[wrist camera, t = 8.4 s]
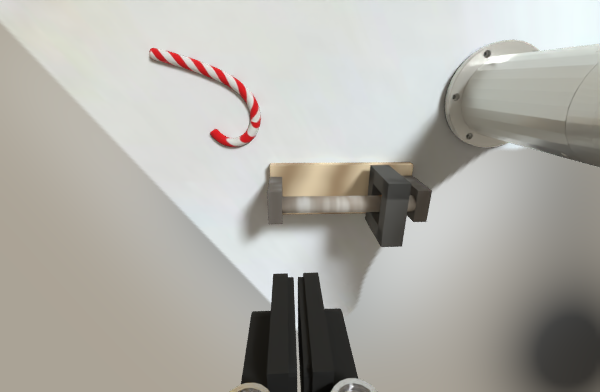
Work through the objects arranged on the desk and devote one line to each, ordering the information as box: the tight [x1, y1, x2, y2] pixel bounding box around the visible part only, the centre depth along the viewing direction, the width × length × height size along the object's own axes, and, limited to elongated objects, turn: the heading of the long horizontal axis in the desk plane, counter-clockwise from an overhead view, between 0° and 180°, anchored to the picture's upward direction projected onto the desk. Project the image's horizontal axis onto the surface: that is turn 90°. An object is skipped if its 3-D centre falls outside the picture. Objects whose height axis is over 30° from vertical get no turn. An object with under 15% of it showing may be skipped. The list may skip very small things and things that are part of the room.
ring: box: [365, 165, 411, 247], centre depth 35 cm, size 2×8×7 cm, turn 0°
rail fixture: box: [267, 162, 432, 224], centre depth 37 cm, size 19×7×7 cm, turn 90°
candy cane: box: [149, 48, 261, 147], centre depth 35 cm, size 8×1×15 cm
